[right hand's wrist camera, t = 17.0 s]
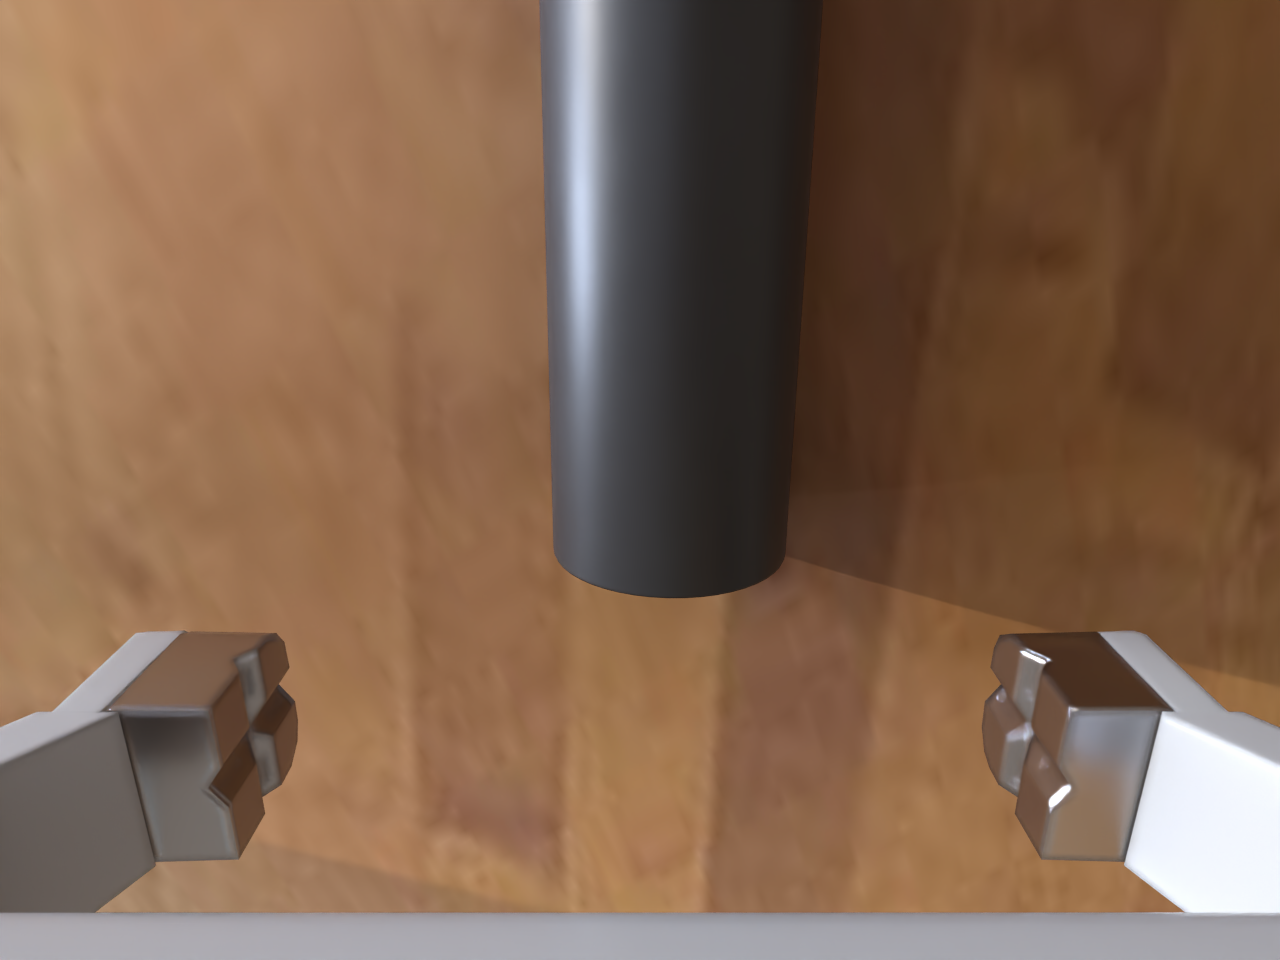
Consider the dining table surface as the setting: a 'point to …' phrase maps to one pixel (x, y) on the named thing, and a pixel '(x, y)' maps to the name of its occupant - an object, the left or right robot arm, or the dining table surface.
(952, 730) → the dining table surface
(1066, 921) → the right robot arm
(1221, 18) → the dining table surface
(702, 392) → the rod
